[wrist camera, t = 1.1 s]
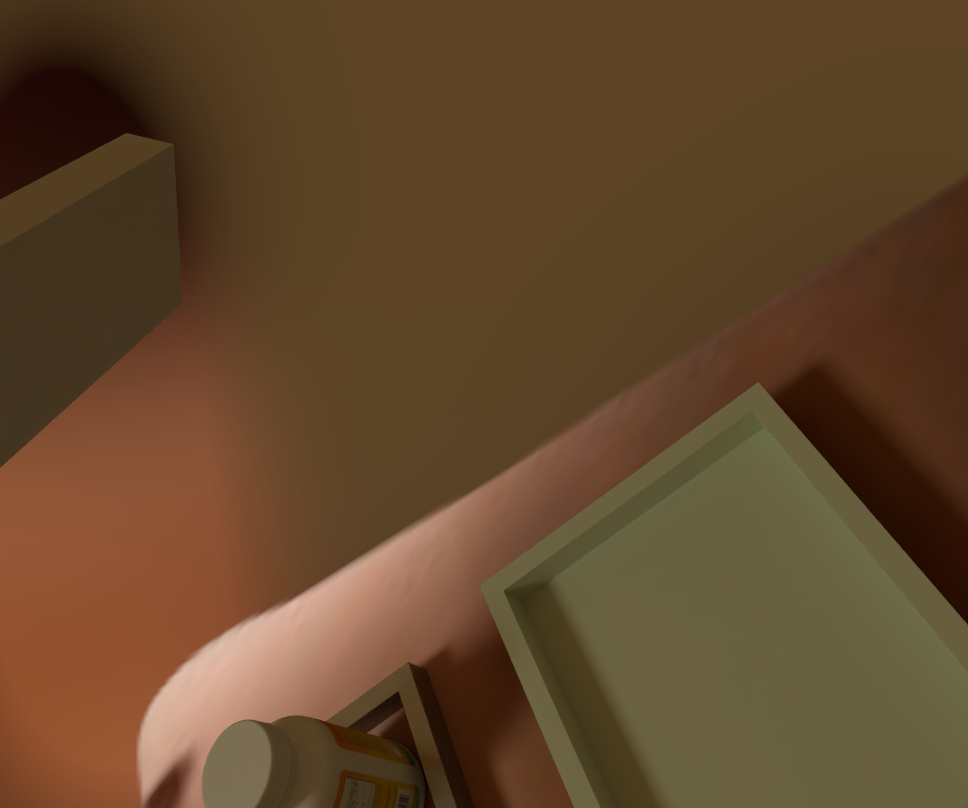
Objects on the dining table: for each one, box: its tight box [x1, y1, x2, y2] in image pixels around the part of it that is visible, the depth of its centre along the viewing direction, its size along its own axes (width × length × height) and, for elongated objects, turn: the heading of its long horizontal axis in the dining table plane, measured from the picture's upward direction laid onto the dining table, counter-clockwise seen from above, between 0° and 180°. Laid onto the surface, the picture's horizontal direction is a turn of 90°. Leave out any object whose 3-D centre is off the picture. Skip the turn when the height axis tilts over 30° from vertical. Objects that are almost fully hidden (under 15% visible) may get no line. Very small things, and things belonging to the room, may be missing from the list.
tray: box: [480, 382, 968, 808], centre depth 34 cm, size 16×20×2 cm
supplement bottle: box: [202, 715, 425, 808], centre depth 39 cm, size 5×5×10 cm
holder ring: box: [326, 662, 474, 808], centre depth 42 cm, size 9×9×2 cm
